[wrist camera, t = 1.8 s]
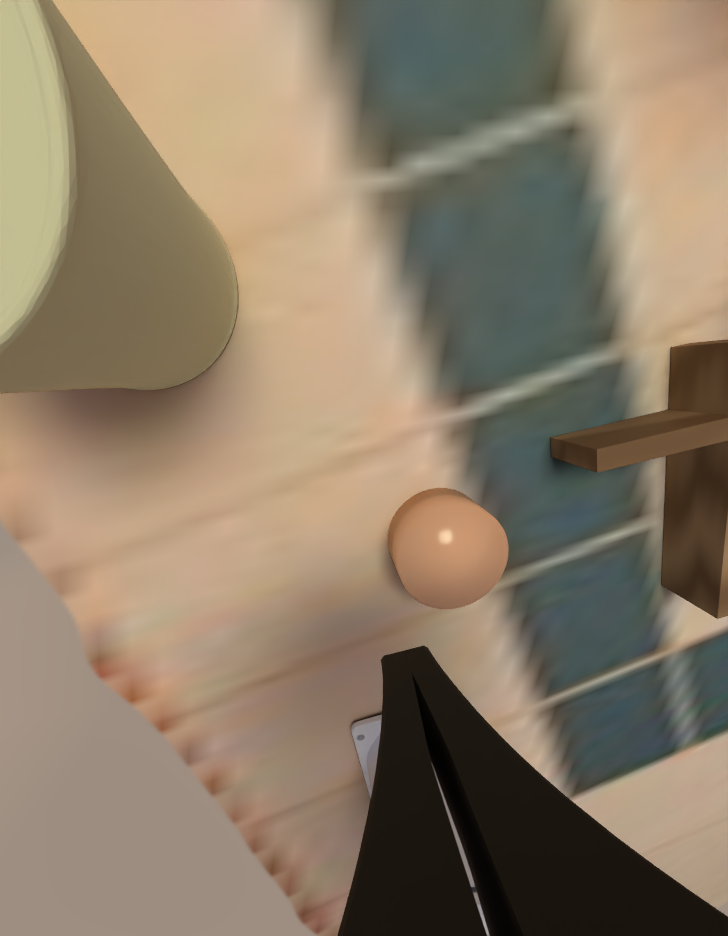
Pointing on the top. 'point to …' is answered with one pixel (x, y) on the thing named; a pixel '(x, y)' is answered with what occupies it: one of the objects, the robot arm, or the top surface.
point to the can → (95, 230)
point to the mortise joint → (679, 469)
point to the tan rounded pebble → (446, 548)
